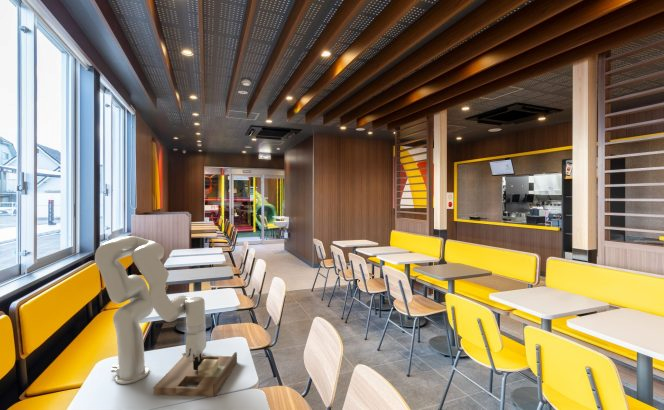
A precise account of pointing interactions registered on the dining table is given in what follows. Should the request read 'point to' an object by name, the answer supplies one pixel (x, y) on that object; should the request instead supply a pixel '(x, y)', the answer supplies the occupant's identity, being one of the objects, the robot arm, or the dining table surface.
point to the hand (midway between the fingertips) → (197, 368)
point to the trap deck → (195, 378)
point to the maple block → (208, 367)
